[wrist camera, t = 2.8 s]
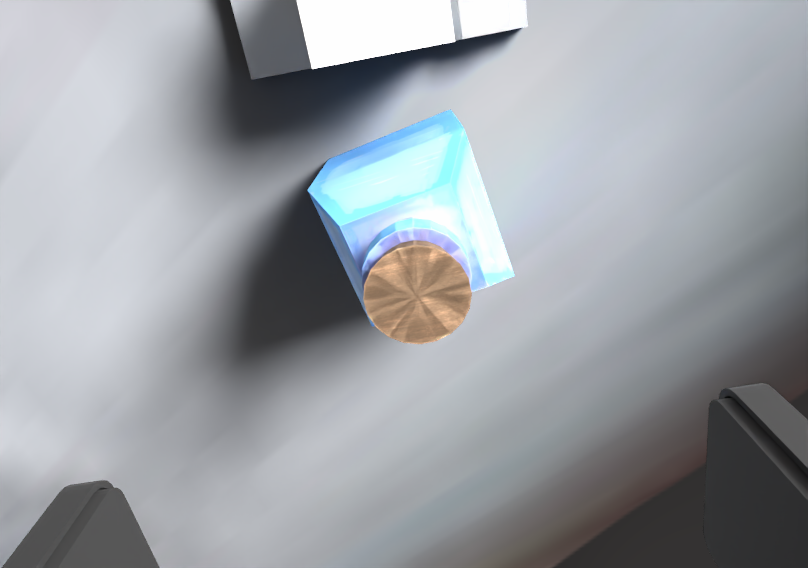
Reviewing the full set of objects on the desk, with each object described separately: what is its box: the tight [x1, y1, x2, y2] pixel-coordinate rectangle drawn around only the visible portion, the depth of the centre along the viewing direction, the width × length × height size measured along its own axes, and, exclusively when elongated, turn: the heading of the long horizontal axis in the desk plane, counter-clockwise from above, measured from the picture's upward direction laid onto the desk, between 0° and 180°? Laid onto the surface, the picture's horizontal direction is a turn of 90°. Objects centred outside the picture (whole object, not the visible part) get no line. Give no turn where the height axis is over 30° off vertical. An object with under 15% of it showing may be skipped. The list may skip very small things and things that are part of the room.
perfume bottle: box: [308, 109, 515, 344], centre depth 22 cm, size 6×6×12 cm
